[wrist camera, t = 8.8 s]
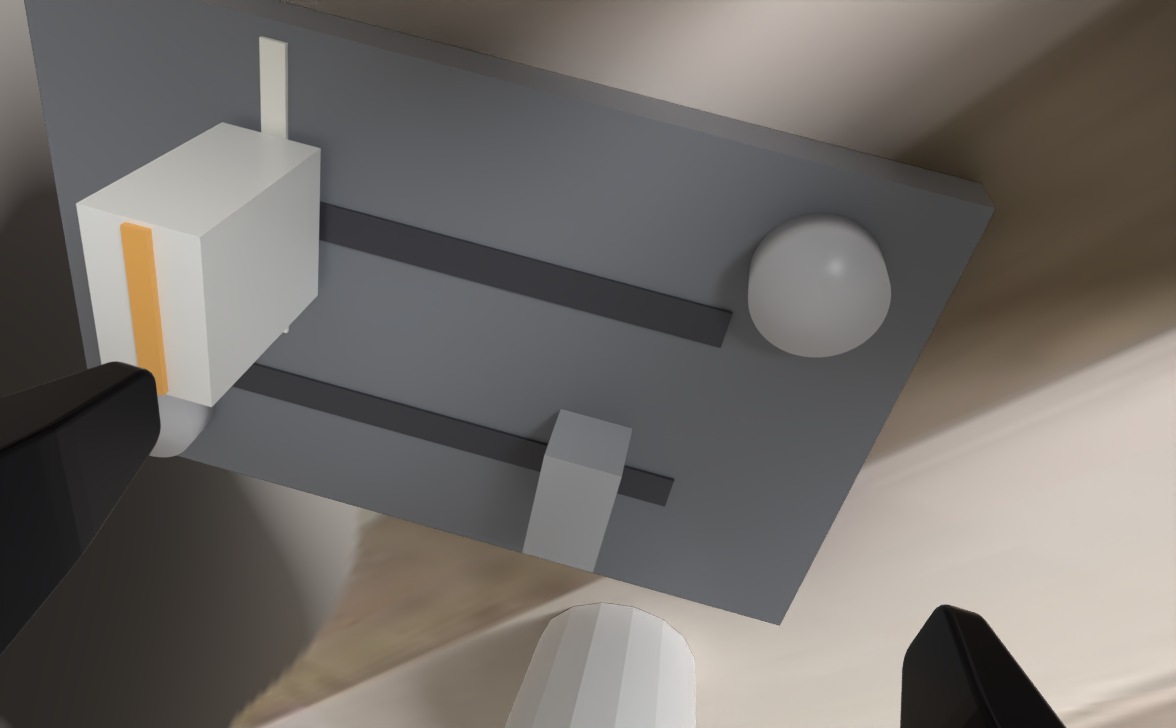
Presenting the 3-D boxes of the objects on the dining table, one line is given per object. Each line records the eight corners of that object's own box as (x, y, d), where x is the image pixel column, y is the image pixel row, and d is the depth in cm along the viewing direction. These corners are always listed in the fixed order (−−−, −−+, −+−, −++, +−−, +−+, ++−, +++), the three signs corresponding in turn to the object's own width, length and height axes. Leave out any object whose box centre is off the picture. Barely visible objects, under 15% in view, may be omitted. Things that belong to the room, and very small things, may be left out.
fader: (320, 148, 19) (195, 241, 15) (317, 294, 22) (207, 411, 17) (222, 122, 20) (70, 206, 15) (229, 271, 22) (98, 381, 18)
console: (981, 183, 19) (1018, 249, 16) (779, 588, 27) (780, 681, 24) (63, -56, 20) (-58, -34, 17) (128, 406, 28) (53, 474, 25)
